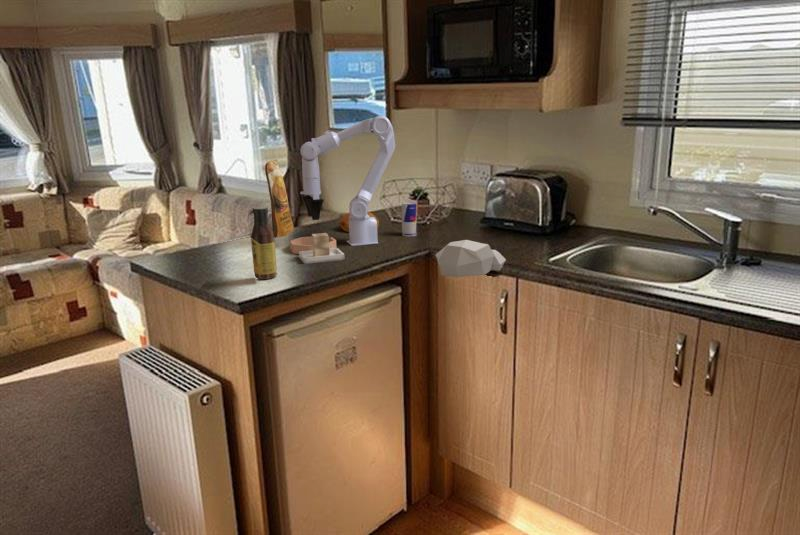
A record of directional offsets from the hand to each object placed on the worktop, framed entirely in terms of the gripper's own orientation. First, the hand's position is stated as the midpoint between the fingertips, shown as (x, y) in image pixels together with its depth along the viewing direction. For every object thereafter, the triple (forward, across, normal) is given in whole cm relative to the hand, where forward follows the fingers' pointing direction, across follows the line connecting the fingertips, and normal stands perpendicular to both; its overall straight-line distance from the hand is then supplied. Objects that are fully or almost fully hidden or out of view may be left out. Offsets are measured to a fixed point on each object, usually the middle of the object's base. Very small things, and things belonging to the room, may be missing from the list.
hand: (313, 218), depth 206 cm
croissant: (+10, -18, +20) cm, 29 cm away
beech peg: (+9, +21, -2) cm, 23 cm away
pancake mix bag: (+10, -22, -8) cm, 26 cm away
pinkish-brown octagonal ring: (+9, +7, -2) cm, 12 cm away
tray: (+9, +21, -2) cm, 23 cm away
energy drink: (+10, -1, +35) cm, 36 cm away
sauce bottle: (+10, +37, -21) cm, 44 cm away
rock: (+10, +54, +34) cm, 65 cm away
